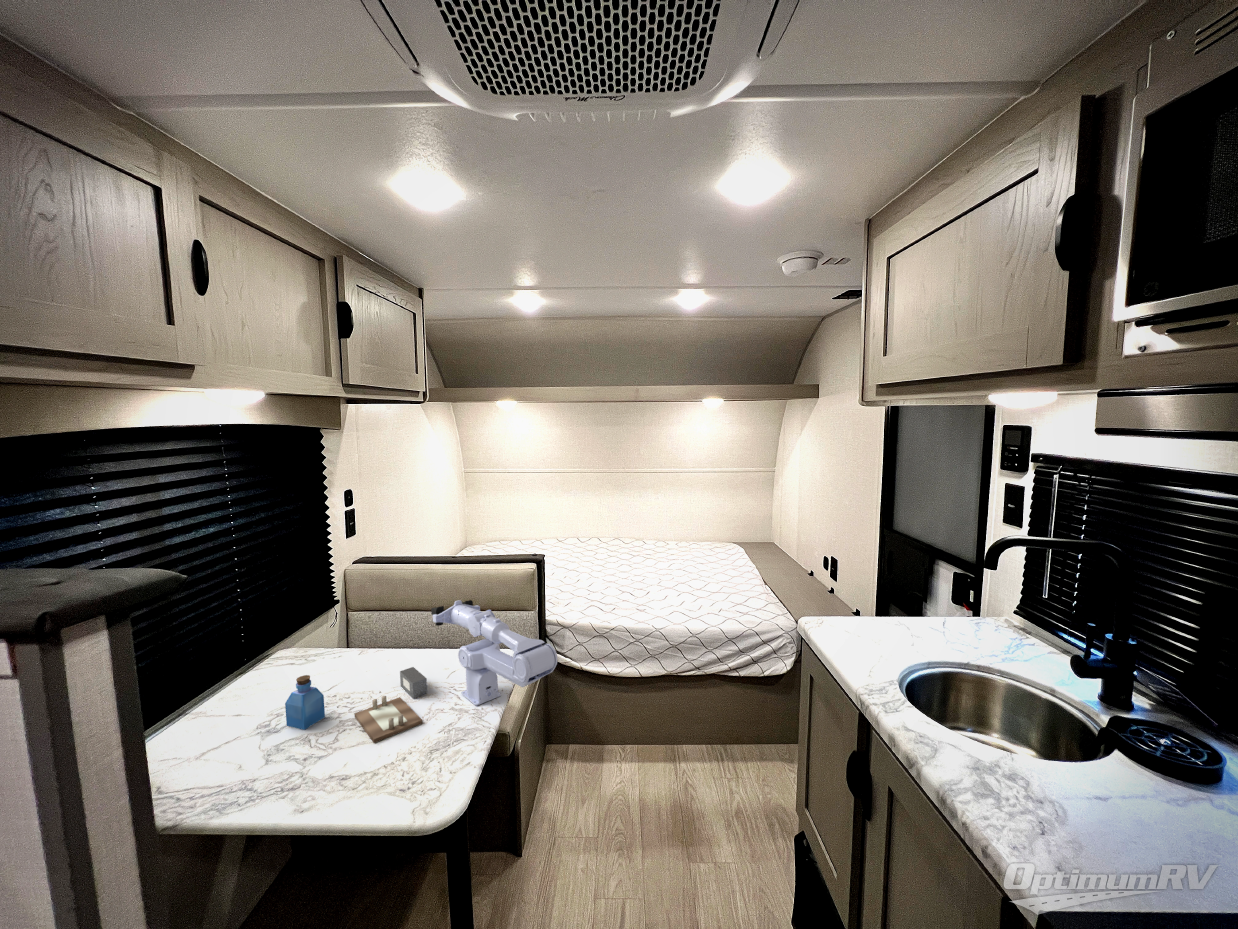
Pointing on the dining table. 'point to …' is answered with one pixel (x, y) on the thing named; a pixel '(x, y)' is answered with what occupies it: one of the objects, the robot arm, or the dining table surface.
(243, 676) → the dining table surface
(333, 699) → the dining table surface
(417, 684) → the block
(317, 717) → the perfume bottle
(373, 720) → the pin tray
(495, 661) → the robot arm
